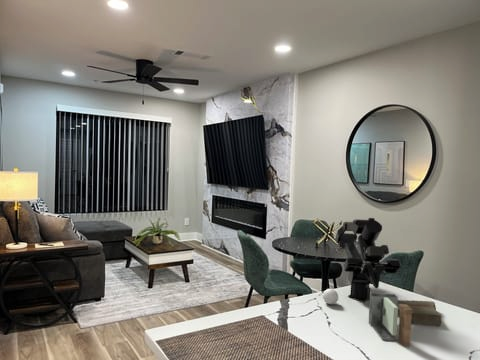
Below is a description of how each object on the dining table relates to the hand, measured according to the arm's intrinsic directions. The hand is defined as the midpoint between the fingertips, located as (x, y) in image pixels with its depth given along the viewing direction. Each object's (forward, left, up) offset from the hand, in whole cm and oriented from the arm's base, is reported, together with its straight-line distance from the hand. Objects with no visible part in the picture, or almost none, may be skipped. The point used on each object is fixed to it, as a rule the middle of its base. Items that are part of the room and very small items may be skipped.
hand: (377, 287), depth 122 cm
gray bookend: (+8, -8, -10) cm, 15 cm away
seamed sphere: (-16, -2, -10) cm, 19 cm away
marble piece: (+9, +13, -11) cm, 19 cm away
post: (+14, -11, -10) cm, 21 cm away
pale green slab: (+8, -9, -9) cm, 15 cm away
